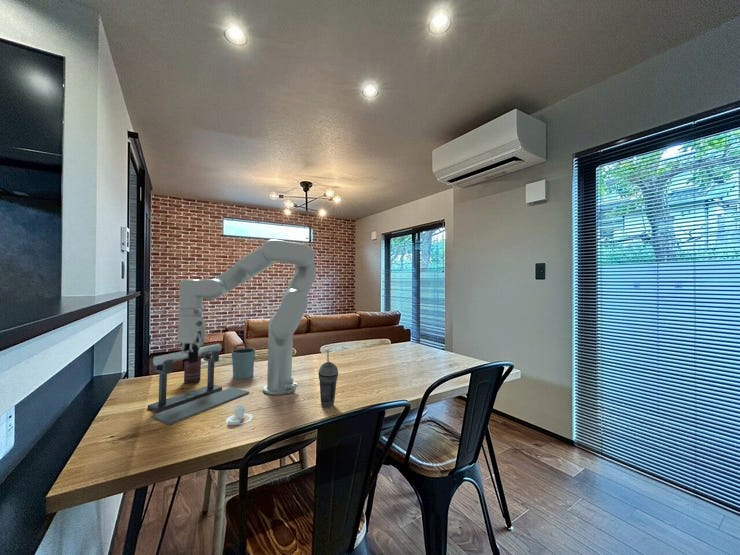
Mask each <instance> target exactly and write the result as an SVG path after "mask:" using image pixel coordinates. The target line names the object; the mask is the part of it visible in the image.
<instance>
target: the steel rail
mask: <svg viewBox="0 0 740 555" xmlns="http://www.w3.org/2000/svg"><path fill="white" fill-rule="evenodd" d="M222 348H223V346H222V344H221V343H216V344H211V345H206V346H201V347H200V348H199V351H198V356H201V357H202V356H204V355H205V354H209V353H211V354H212V352H214V351H219V352H221V351H222ZM189 352H190V350H186V351H182V350H181V351H177V352H172V353H171V352H170V353H168V354H161V355H158V356H157V355H156V356H153V358H152V363H153V366H154V367H155V366H157V365H161V364H163V362H168V361H172V363H174V362H179V361H182V360H183V359H188V358H189Z"/></svg>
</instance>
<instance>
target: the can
mask: <svg viewBox="0 0 740 555" xmlns="http://www.w3.org/2000/svg"><path fill="white" fill-rule="evenodd" d="M183 365H184V367H183V368H184V371H183V373H184V375H183V382H184V383H185V384H188V385H192V383H193V384H196V383H199V382H200V381H201V375H202V374H201V371H202V355H201V356H198V361H197V362H194V363H189V361H186V362H184V364H183Z"/></svg>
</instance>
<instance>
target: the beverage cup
mask: <svg viewBox="0 0 740 555" xmlns="http://www.w3.org/2000/svg"><path fill="white" fill-rule="evenodd" d="M326 352H327V353H326V356H327V357H326V358H327V360H326V362H324V363H323V364H321V366H320V368H319V369H318V373H317V374H318V380H319V392H320V393H319V394H320V405H321V406H320V407H321V408H322V409H331V407H332V408H334V406H335V400H336V399H335V398H336V391H337V390H336V389H337V382H338V376H339V369H338V367H337V365H336V364H335V363H333V362H332V361H331V362H330V357H329V356H330V354H329V353H330V352H329V349H327V350H326Z"/></svg>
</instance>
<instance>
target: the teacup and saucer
mask: <svg viewBox="0 0 740 555" xmlns="http://www.w3.org/2000/svg"><path fill="white" fill-rule="evenodd" d="M245 411H246V406H244V405H237V406H235V407H234V413H233V414H232V415H230V416H228V417H227V418H226V419H225V423H226V424H227V425H229V426H240V425H244V424H247V423H249V422H251V421H252V420H253V418H254V416H253V415H252V414H251V413H245ZM245 416H246V417H248V420H246V421H243V422H241V421H242V420H243V419H244V418H245Z"/></svg>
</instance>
